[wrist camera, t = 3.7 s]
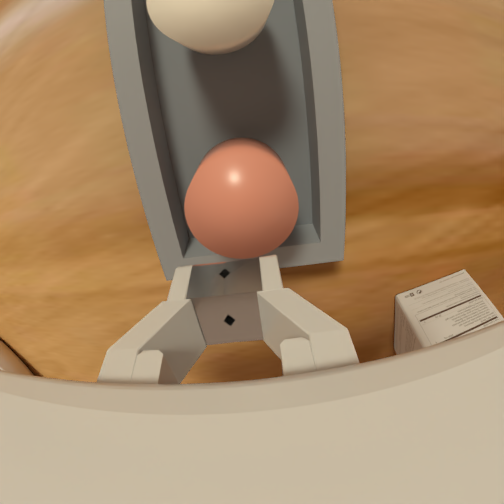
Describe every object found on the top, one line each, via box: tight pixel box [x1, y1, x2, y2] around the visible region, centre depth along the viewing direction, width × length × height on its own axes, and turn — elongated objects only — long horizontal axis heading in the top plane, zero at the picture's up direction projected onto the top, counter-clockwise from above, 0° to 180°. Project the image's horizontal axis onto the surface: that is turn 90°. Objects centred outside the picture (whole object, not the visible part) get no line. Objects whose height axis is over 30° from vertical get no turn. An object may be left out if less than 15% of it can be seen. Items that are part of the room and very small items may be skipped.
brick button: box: [184, 138, 299, 259], centre depth 15 cm, size 5×5×4 cm
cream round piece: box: [146, 0, 274, 55], centre depth 10 cm, size 5×5×4 cm
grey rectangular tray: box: [104, 0, 346, 280], centre depth 13 cm, size 12×32×4 cm, turn 7°
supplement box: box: [394, 270, 504, 355], centre depth 22 cm, size 9×9×15 cm
